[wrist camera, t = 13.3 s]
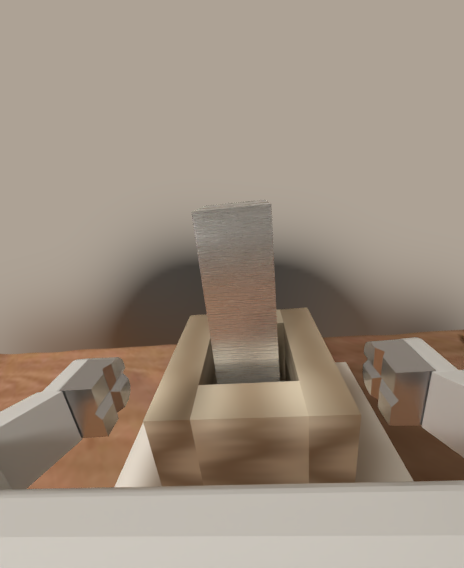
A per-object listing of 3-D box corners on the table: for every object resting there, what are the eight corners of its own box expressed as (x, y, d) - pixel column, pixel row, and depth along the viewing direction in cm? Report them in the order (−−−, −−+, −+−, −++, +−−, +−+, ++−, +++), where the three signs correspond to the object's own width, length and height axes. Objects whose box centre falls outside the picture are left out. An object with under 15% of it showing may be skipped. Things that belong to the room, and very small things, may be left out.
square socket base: (89, 569, 15) (33, 460, 12) (168, 379, 30) (152, 309, 27) (455, 576, 13) (499, 452, 10) (345, 371, 28) (349, 295, 25)
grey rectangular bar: (225, 442, 18) (191, 211, 13) (230, 390, 23) (206, 205, 18) (282, 440, 18) (271, 203, 13) (275, 389, 23) (264, 199, 17)
